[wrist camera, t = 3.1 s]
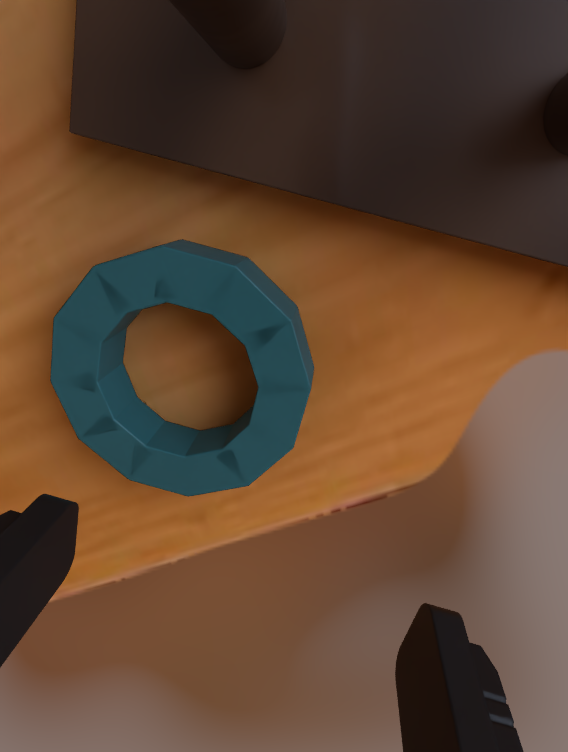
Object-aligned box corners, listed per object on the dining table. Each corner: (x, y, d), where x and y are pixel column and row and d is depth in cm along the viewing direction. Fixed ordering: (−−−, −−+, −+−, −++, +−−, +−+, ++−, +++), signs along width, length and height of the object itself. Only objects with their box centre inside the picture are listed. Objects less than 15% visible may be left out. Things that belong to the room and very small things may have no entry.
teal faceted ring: (74, 431, 23) (45, 457, 20) (91, 214, 19) (58, 217, 16) (278, 488, 22) (271, 520, 20) (339, 282, 18) (339, 294, 16)
